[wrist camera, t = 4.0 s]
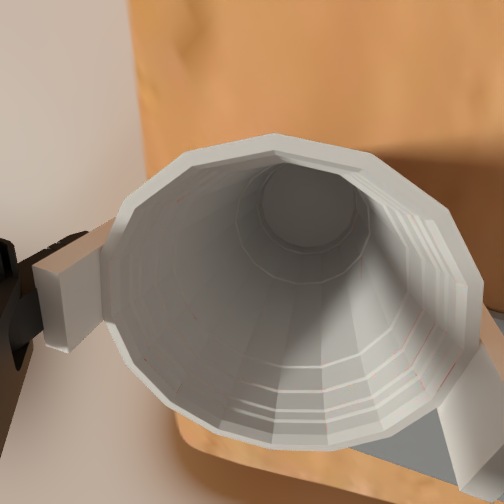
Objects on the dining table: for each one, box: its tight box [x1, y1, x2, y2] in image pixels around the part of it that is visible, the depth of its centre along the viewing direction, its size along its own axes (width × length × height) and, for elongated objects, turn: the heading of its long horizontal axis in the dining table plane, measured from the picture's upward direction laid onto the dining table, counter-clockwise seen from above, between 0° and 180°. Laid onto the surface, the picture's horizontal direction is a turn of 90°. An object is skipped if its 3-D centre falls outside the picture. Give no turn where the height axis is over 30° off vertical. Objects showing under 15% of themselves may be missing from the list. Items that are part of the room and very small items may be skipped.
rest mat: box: [348, 309, 504, 502], centre depth 23 cm, size 15×15×1 cm
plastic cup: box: [100, 133, 484, 451], centre depth 14 cm, size 11×11×12 cm
